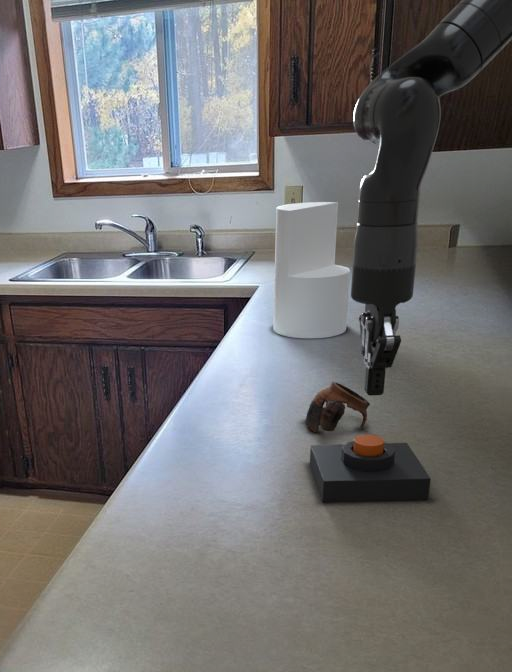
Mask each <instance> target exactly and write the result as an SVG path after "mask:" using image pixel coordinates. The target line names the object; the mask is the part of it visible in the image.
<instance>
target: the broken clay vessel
mask: <svg viewBox="0 0 512 672" xmlns="http://www.w3.org/2000/svg"><path fill="white" fill-rule="evenodd" d="M345 404H346V405H345ZM370 405H371V402H369V401H368V400H367V399H366V398H365V397H363V396H362V395H360V394H359V393H357V392H356V391H354V390H352V389H351V388H349V387H348V386H345V385H343V384H342V383H338V382H335V381H332V382H331V384H330V386H329V387H326V388H324V389H321V390H320V391H318V392H317V393H316V394H315V395H314V397H313V399H312V400H311V402H310V404H309V408H308V410H307V412H306V416H305V420H304V424H305V425H306V427H307V428H309V429H310V430H311V431H312V432H314V433H318V431H319V427H320V428H321V429H322V430H323V431H326V432H334V431H335V430H336V428H337V425H338V423H339V421H341V419H342V417H343V416H344V414H345V411H346V408H349V409H352V410H353V411H356V412H359V413H360V414H361V415H362V421H361V423H360V429H363V428H364V427H365V425H366V423H367V420H368V412H367V411H368V410H367V409H368V408H369V406H370Z"/></svg>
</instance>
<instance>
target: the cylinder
mask: <svg viewBox="0 0 512 672" xmlns="http://www.w3.org/2000/svg"><path fill="white" fill-rule="evenodd" d="M338 212H339V202H337V201H312V202H311V201H310V202H295V203H288V204H282V205H279V206H276V208H275V244H274V245H275V247H274V250H275V251H274V286H273V288H274V294H273V297H274V298H273V331H274V332H275V333H276V334H278V335H281V336H283V337H288V338H294V339H325V338H330V337H335V336H340V335H341V334H344V333H345V332H346V331H347V324H348V323H347V321H348V306H349V292H350V279H351V278H350V276H351V269H350V268H349V267H347V266H344V265H338V264H336V248H337V247H336V246H337V230H338V216H339V215H338V214H339V213H338Z"/></svg>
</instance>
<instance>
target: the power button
mask: <svg viewBox="0 0 512 672" xmlns="http://www.w3.org/2000/svg"><path fill="white" fill-rule="evenodd" d="M353 441H354V448H353V452H355V453H357V454H359V455H364V456H378V455H381V454H383V449H384V443H385V440H384V438H382V437H381V436H378V435H374V434H360V435H358V436H356V437H354V439H353Z"/></svg>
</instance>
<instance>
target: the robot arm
mask: <svg viewBox="0 0 512 672" xmlns="http://www.w3.org/2000/svg"><path fill="white" fill-rule="evenodd" d="M511 41H512V0H461V1H459V3H457V4H456V5H455V7H454V8H452V10H451V11H450V12H448V14H447V15H446V16H444V17H443V19H442V20H441V21H440V22H439V23H438V24H437V25H436V26H435V27H434V28H433V29H432V31H431V32H430V33H429V34H428V35H427V36H426V37H425V38H424V39H423V40H422V41H421V42H419V43H418V44H417V45H415V46H414V47H413V48H411V49H410V50H409V51H407V52H406V53H405V54H403V55H402V56H401V57H399V58H398V59H397V60H395V61H394V62H393V63H392V64H391V65H389V66H388V67H386V68H385V69H384V70H383V71H382V72H381V73H379V74H378V75H377V76H376V77H375V78H374V79H373V80H372V81H371V82H370V83H369V84H368V85H367V86H366V88H365V89H364V90H363V91H362V93H361V94H360V96H359V98H358V99H357V102H356V104H355V107H354V110H353V117H352V118H353V120H352V121H353V128H354V130H355V133H356V135H357V136H358V138H360V139H361V140H362V142H364V143H366V144H368V145H371V146H375V147H379V149H378V152H377V153H378V154H377V158H376V161H375V166H374V169H373V170H371V171H369V172H368V173H366V174H365V175H364V176H363V178H361V181H360V185H359V192H358V204H357V205H358V206H357V220H356V221H357V223H356V230H355V235H354V240H353V251H352V252H353V253H352V269H351V285H350V287H351V288H350V298H351V299H352V300H353V301H354V302H356V303H359V304H362V305H363V304H364V312H361V314H359V317H358V321H359V331H360V342H361V355H362V357H364V359H363V362H364V365H365V379H364V391H365V392H366V394H367V396H370V397H372V396H375V397H376V396H382V395H383V394H384V392H385V380H386V371H387V369H388V368H390V369H391V368H392V367H393V364H394V361H395V359H396V357H397V353H398V351H399V348H400V346H401V343H402V338H401V335H400V334H399V335H397V334H396V333H397V331H398V330H399V325H400V317H399V315H397V309H396V308H397V306H398V305H400V304H405V303H407V302H409V301H410V300H411V299H412V298H413V297H414V289H415V278H416V267H417V255H418V245H419V235H418V234H419V233H418V232H419V231H418V224H419V223H418V221H419V212H420V211H419V210H420V201H421V200H420V199H421V187H422V183H423V180H424V177H425V176H426V175H425V174H426V172H427V170H428V167H429V163H430V160H431V157H432V154H433V151H434V149H435V148H434V147H435V145H436V141H437V138H438V134H439V130H440V124H441V116H442V115H441V114H442V110H441V109H442V108H441V101H440V100H441V99H440V98H441V97H442V96H444V95H446V94H448V93H451V92H454V91H455V92H456V91H457V90H459V89H461V88H463V87H464V86H466V85H467V84H468V83H470V82H471V81H472V80H473V79H474V78H475V77H476V76H477V75H478V74H479V73H480V72H481V71H483V69H484V68H485V67H486V66H487V65H488V64H489V63H490V62H491V61H492V60H493V59H494V58H495V57H496V56H497V55H498V54H499V53H500V52H501V51H502V50H503V49H504V48H505V47H506V46H507V45H508V44H509V43H510V42H511Z"/></svg>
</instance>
